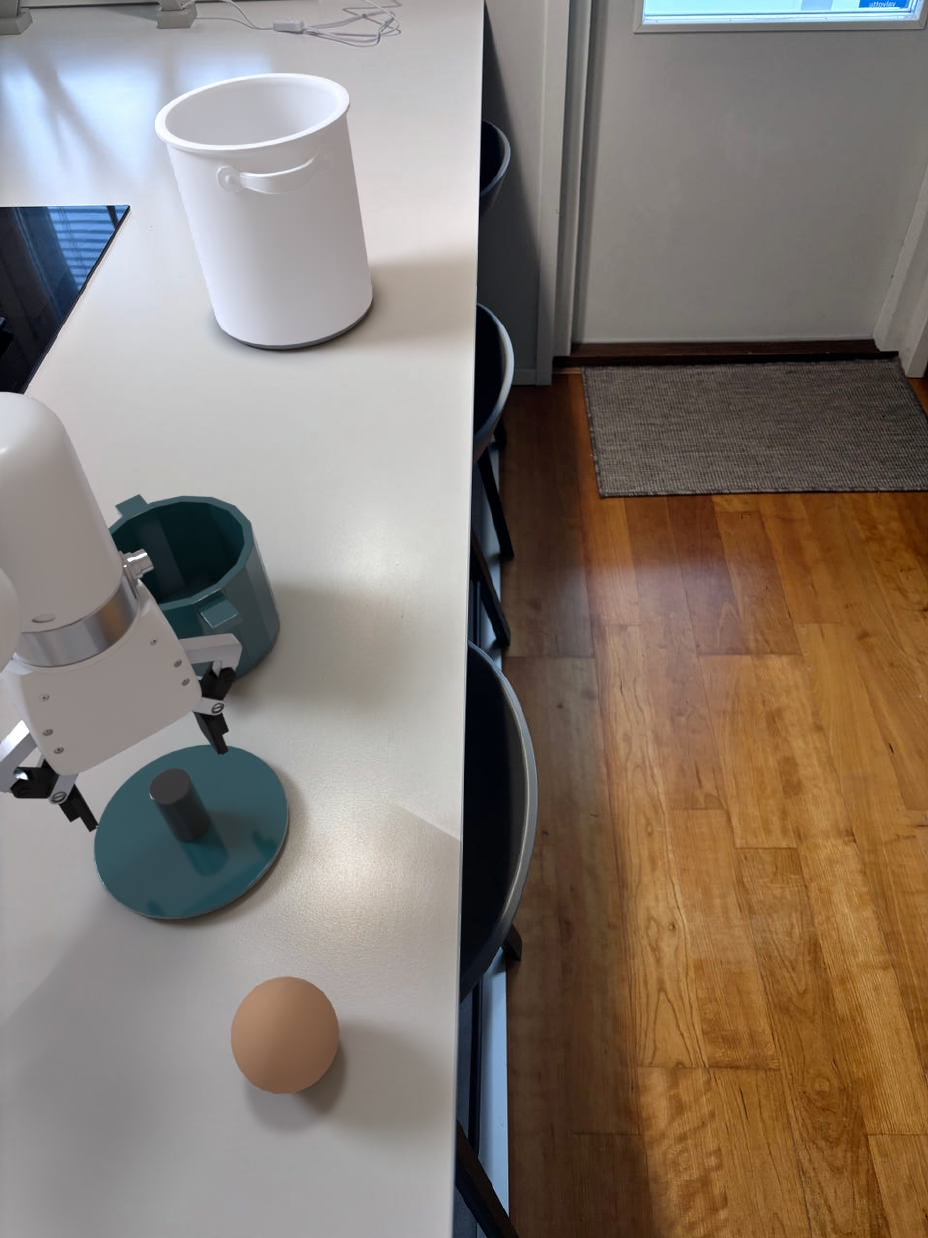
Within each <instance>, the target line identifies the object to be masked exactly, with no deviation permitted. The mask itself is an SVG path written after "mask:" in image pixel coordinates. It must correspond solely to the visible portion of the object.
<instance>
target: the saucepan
mask: <svg viewBox="0 0 928 1238" xmlns="http://www.w3.org/2000/svg"><path fill="white" fill-rule="evenodd" d="M114 507H115V510H116V512H117V514H118V515H119V517H120V518H119V519H117V520H116V521H115V522H114V523H113V524H112V525H110V526H109V527H108V529H109V532H110V534H111V536H112V539H113V541H114V544H115V546H116V548H117V551H118V552H119V551H121V552H122V553H123V554H124V555H125V554H127V553H129V552H130V553H131V554H132V553H135V552H137V551H139V550H141V549H144V551H145V552H146V553H147V555H148V557H149V558H150V560H151V562H152V565H153V568H154V569H153V570H151V571H149V572H147V573H145V574H143V577H141V578H139V579H140V581H141V582H142V583H143V584H144V585H145V587H146V588H147V589H148V590H149V592H150V593H151V595H152V596H153V597H154V599H155V601H156V603H157V605H158V606H159V608H160V610H161V611H162V613H163V614H164V616H165V618H166V619H167V621H168V623H169V624H170V626H171V627H172V629H173V631H174V633H175V634H176V636H177V638H178V640H179V639H187V638H195V637H203V636H211V635H219V634H228V633H231V634H233V635H234V636H235V638H236V639H237V640H238V641H239V642H240V644H241V645H242V651H241V655H240V659H239V663H238V666H236V669H235V672H236V674H237V677H236V680H235V681H237V680H239V679H241V678H242V677H244V676H246V675H247V674H249V673H250V672H251V671H252V670H253V669H255V668H256V667H257V666H258V665H259V664H260V663H262V661H264V659H265V658H266V657H267V655H268V654H269V653H270V651H271V650H272V648H273V646H274V645H275V643H276V640H277V637H278V634H279V630H280V616H279V615H280V614H279V611H278V607H277V601H276V598H275V595H274V591H273V589H272V586H271V581H270V579H269V576H268V572H267V570H266V566H265V563H264V560H263V557H262V554H261V550H260V547H259V544H258V541H257V538H256V533H255V531H254V527H253V523H252V522H251V521H250V519H248V517H247V516H246V515H245V514H244V513H243V512H242V511H241V510H240V509H239V507H237V506H236V505H234V504H233V503H229V502H227V501H224V500H222V499H219V498H216V497H214V496H206V495H205V496H203V495H201V496H200V495H179V496H173V497H170V498H169V497H168V498H164V499H159V500H155V501H152V502H149V503H148V502H147V501H146V500H145V498H143V496H142V495H141V494H140V493H139V494H135V495H134V496H132V497H130V498H128V499H126V500H124V501H121V502H120V503H117V504H115V505H114ZM211 662H212V661H210V662H203V663H196V664H191V666H192V668H193V670H194V672H195V674H196V676H201V677H203V675H204V674H205V672H206V670H207V669H208V667H209V665H210V663H211Z"/></svg>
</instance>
